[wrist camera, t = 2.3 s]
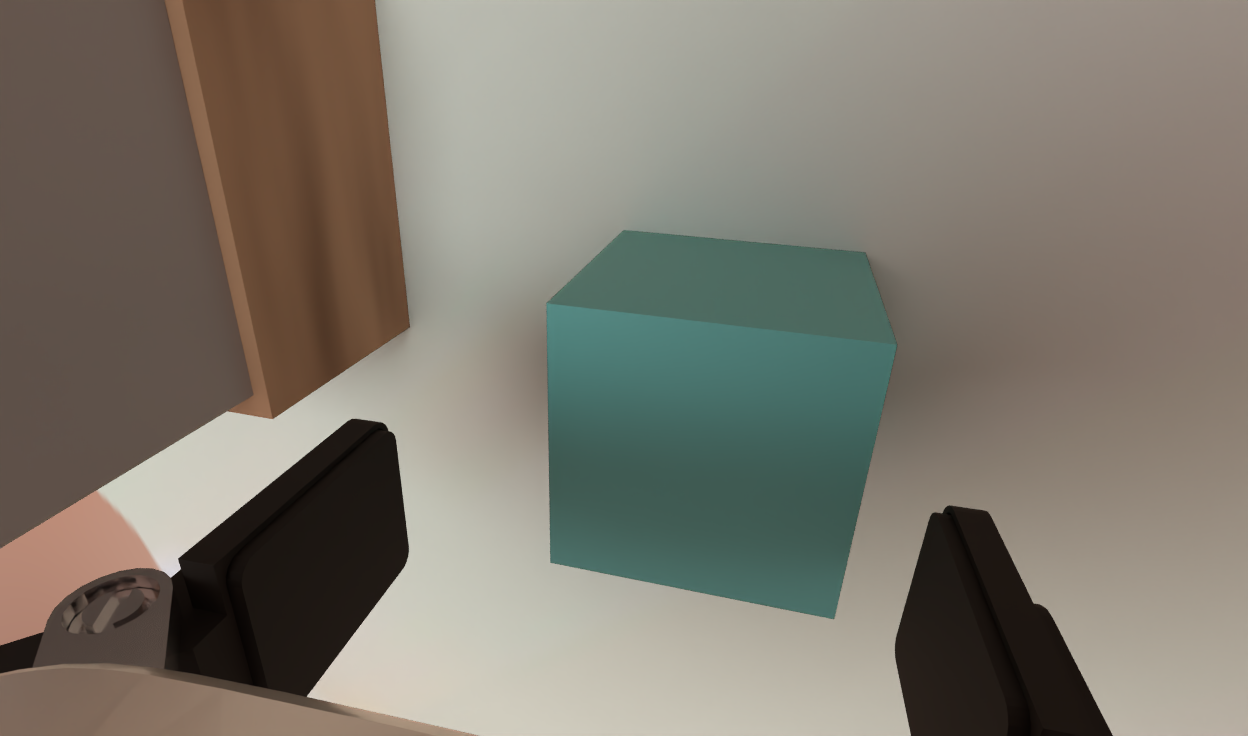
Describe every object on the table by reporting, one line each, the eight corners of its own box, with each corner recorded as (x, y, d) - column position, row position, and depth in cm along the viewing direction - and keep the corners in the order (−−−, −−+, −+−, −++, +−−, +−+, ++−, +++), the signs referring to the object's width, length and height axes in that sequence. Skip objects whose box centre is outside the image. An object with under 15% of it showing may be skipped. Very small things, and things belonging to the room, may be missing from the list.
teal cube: (864, 251, 16) (897, 345, 11) (824, 460, 19) (834, 619, 13) (624, 229, 17) (546, 303, 12) (617, 428, 20) (550, 562, 14)
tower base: (376, -17, 16) (169, -56, 11) (412, 325, 20) (273, 419, 15) (79, -23, 18) (-222, -60, 13) (165, 291, 22) (-39, 364, 17)
